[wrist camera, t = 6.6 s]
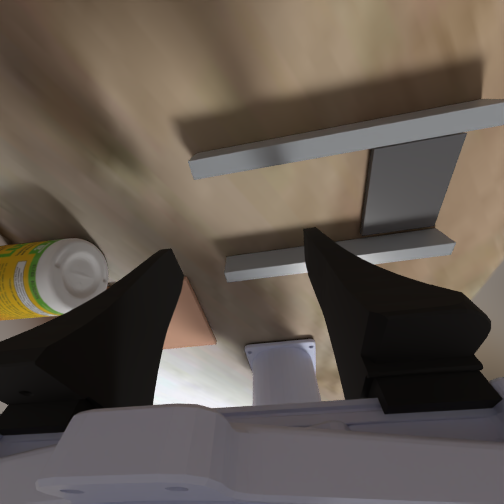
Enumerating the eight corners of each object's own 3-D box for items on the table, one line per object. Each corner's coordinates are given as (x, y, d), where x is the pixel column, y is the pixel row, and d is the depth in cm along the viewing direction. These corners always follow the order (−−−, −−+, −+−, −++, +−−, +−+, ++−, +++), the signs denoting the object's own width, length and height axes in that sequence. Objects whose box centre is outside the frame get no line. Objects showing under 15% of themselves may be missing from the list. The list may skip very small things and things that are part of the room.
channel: (431, 239, 17) (450, 254, 15) (229, 266, 18) (227, 282, 17) (482, 99, 12) (519, 99, 10) (195, 153, 13) (187, 161, 12)
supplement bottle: (39, 237, 13) (-108, 253, 13) (54, 326, 13) (-91, 338, 14) (105, 237, 18) (-2, 248, 19) (115, 300, 18) (9, 310, 19)
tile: (216, 340, 25) (216, 344, 25) (135, 348, 26) (133, 352, 26) (186, 276, 19) (185, 279, 19) (83, 289, 20) (80, 292, 20)
